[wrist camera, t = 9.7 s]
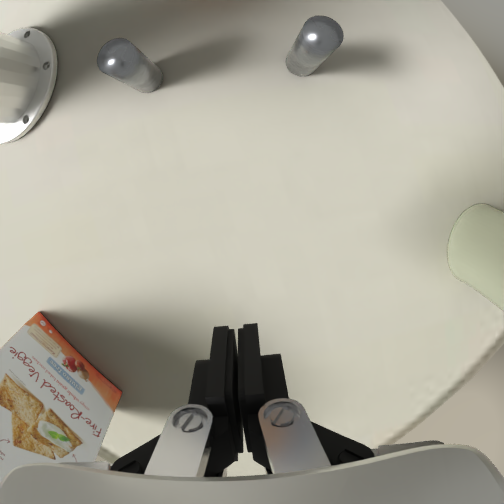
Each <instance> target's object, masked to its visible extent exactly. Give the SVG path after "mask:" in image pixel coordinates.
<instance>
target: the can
mask: <svg viewBox="0 0 504 504" xmlns="http://www.w3.org/2000/svg"><path fill="white" fill-rule="evenodd" d="M447 257H448V264H449V267H450V270H451V272H452V273H453V275H454V276H455V277H456V278H457V279H458V280H460V281H462V282H464V283H466V284H468V285H469V286H470V287H472V288H473V289H475V290H476V291H478V292H479V293H480V294H482V295H483V296H484V297H486V298H487V299H488V300H490V301H491V302H492V303H494V304H495V305H496V306H497V307H499V308H500V309H501V310H502V311H504V212H502V211H500V210H497V209H495V208H493V207H491V206H489V205H487V204H476V205H473V206H471V207H470V208H468V209H467V210H465V211H464V212H463V213H462V214H461V216H460V217H459V218H458V220H457V221H456V223H455V225H454V227H453V229H452V231H451V234H450V238H449V242H448V249H447Z"/></svg>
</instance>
